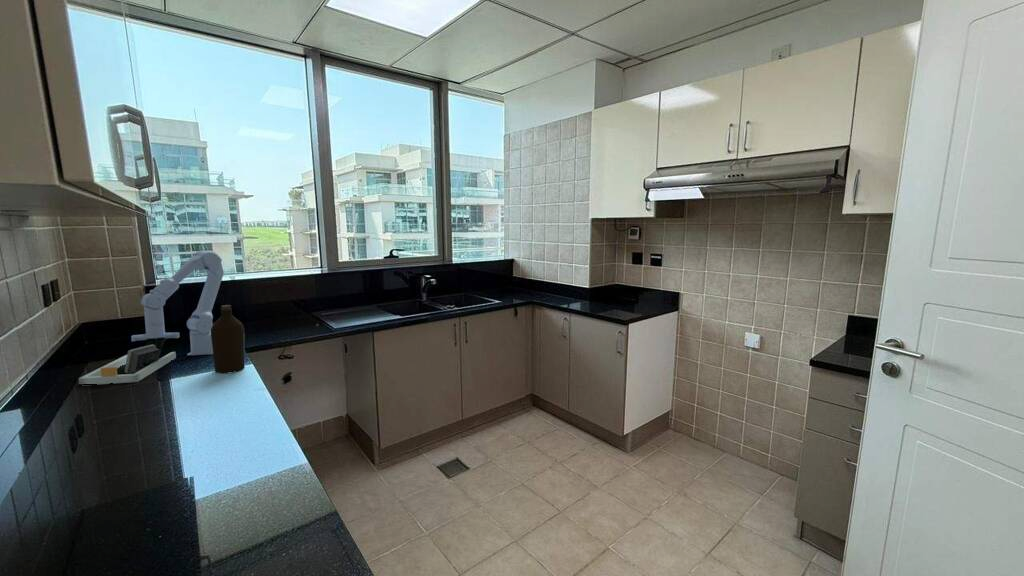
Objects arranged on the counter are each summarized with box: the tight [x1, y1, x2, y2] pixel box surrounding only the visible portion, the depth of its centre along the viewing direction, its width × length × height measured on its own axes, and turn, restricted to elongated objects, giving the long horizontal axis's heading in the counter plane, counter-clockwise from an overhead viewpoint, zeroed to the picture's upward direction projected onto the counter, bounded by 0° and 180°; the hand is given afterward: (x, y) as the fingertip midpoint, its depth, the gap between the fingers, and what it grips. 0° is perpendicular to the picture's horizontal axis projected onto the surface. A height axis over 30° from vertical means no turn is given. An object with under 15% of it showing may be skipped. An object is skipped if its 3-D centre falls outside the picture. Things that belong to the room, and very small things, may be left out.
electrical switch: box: [124, 344, 159, 374], centre depth 156 cm, size 9×5×9 cm, turn 170°
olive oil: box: [211, 304, 245, 374], centre depth 158 cm, size 11×11×25 cm
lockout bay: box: [78, 351, 177, 385], centre depth 156 cm, size 16×29×6 cm, turn 18°
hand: (157, 356), depth 167 cm, fingers closed
